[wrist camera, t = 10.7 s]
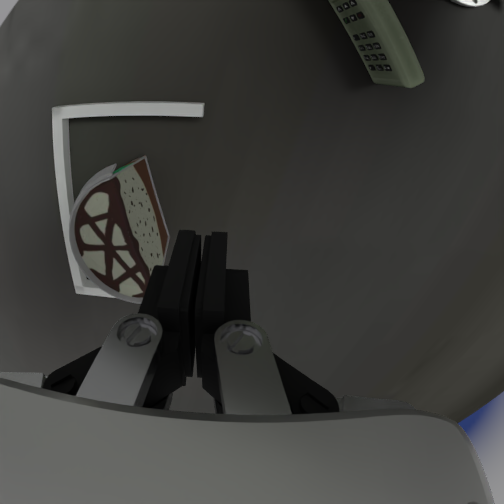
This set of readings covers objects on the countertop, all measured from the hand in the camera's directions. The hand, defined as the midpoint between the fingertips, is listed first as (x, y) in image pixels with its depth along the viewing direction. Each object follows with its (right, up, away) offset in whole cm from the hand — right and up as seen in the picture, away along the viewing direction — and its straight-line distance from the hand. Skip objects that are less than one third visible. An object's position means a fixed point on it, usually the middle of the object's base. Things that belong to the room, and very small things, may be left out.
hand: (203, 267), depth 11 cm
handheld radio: (+9, +27, +10) cm, 30 cm away
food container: (-11, +6, +21) cm, 24 cm away
